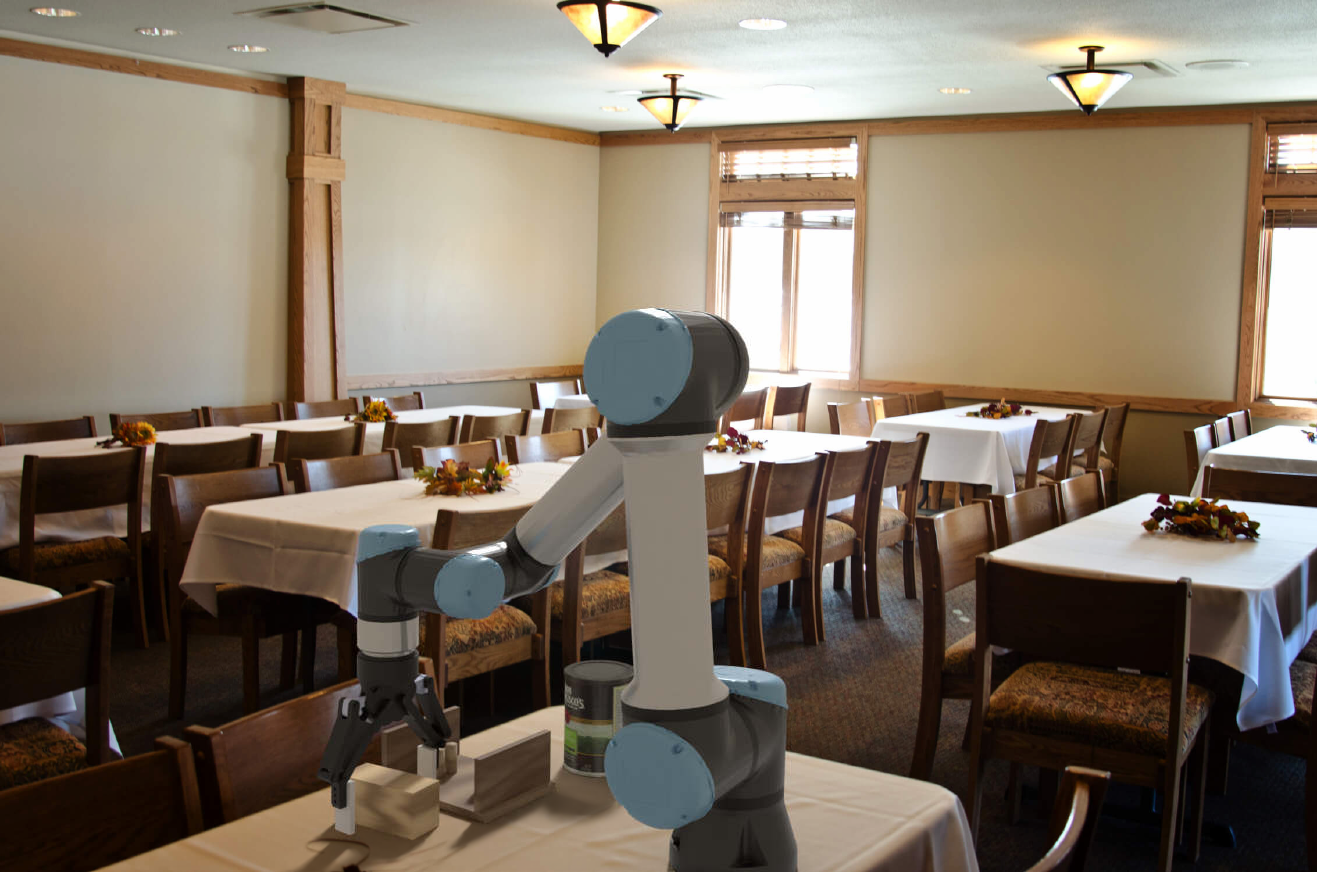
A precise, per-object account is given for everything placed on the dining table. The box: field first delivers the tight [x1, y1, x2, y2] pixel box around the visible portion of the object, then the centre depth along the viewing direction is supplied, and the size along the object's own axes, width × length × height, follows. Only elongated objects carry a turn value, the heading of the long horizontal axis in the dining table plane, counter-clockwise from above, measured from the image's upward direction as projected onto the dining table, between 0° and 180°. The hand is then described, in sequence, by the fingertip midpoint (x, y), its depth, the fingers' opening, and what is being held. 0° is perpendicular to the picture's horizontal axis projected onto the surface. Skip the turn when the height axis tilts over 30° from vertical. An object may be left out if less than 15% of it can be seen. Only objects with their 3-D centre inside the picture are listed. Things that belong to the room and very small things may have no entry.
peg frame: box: [381, 705, 557, 824], centre depth 160 cm, size 20×14×8 cm
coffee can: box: [562, 659, 634, 778], centre depth 170 cm, size 10×10×14 cm
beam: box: [350, 762, 440, 841], centre depth 149 cm, size 12×5×6 cm, turn 62°
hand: (387, 813), depth 149 cm, fingers open, 13 cm apart
